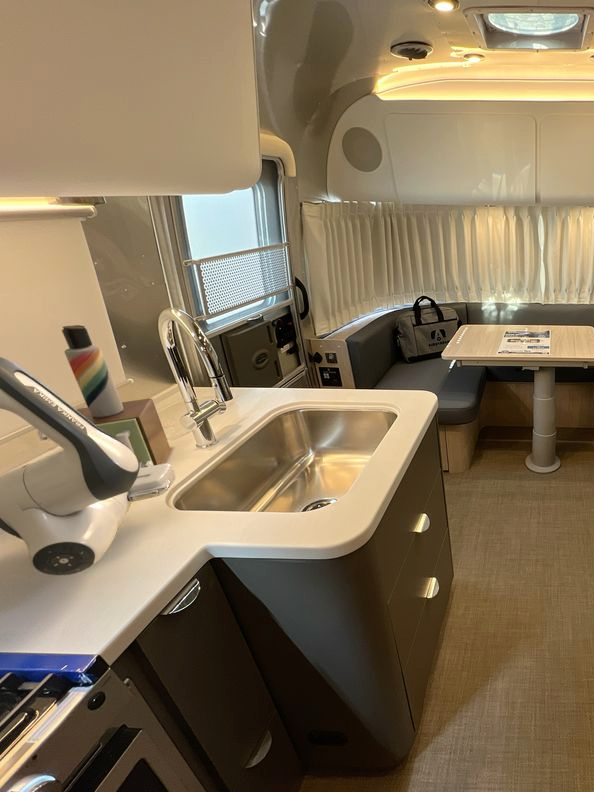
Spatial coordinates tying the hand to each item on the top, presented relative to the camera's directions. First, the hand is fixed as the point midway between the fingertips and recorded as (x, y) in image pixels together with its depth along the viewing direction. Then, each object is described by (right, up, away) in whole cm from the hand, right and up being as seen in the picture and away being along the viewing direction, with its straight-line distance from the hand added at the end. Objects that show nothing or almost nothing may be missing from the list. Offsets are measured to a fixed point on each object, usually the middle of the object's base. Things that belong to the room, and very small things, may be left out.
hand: (120, 469), depth 98 cm
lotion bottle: (-12, +11, +10) cm, 19 cm away
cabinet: (-12, -1, +16) cm, 20 cm away
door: (-8, -4, +8) cm, 11 cm away
